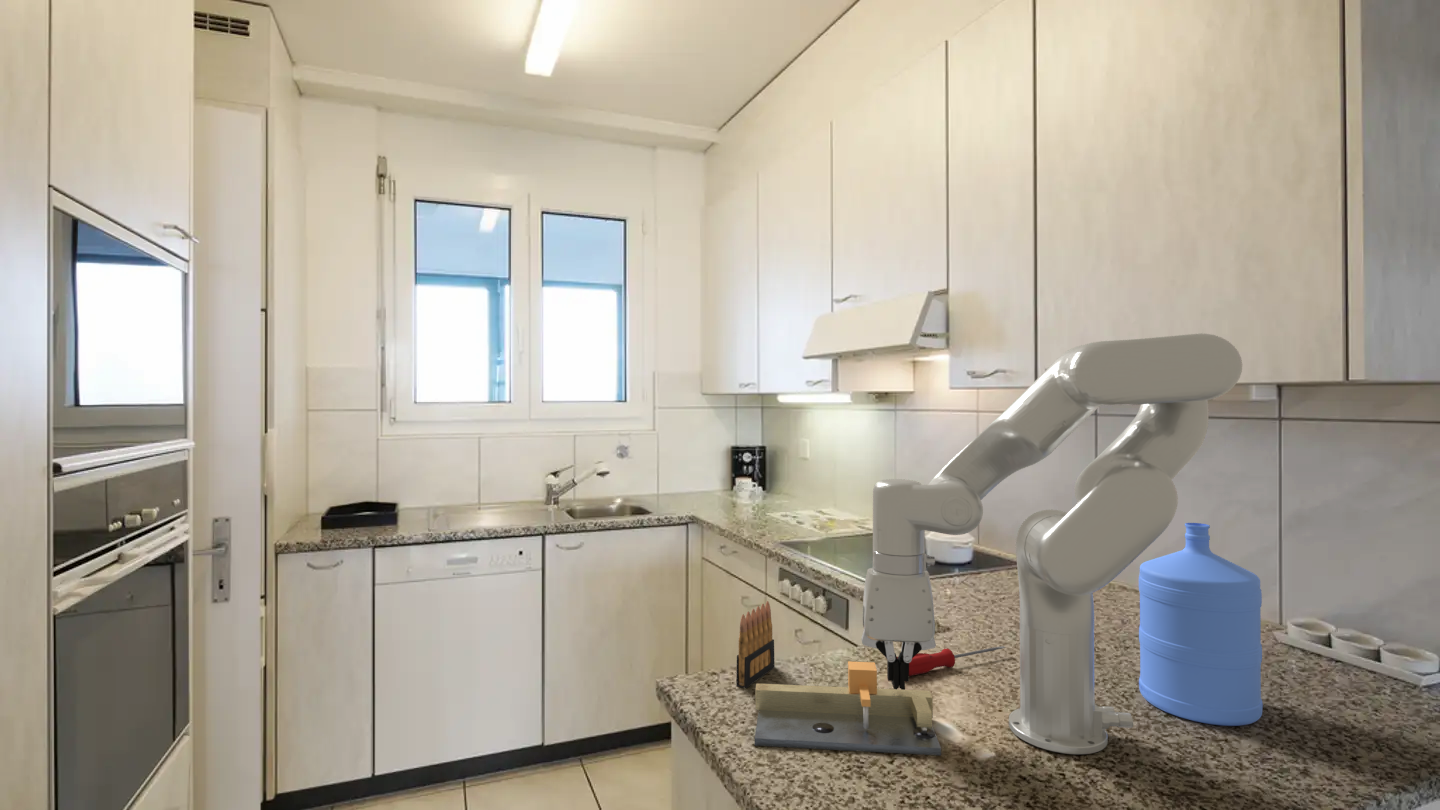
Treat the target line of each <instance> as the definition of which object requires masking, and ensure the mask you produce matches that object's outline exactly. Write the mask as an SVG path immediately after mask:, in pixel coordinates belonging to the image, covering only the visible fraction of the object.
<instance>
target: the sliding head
mask: <svg viewBox="0 0 1440 810" xmlns="http://www.w3.org/2000/svg"><path fill="white" fill-rule="evenodd" d="M847 683H848V684H847V687H849V693H858V694H860V699H861V705H862V706H863V727H864V728H866V729H867V728H869V723H868V707H871V701H870V695H869V694H877V689H878V669H877V666H876V663H875V662H872V661H871V662H870V661H849V660H848V661H847Z"/></svg>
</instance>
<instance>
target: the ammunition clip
mask: <svg viewBox="0 0 1440 810" xmlns="http://www.w3.org/2000/svg"><path fill="white" fill-rule="evenodd" d="M774 668H775V639H773V623H772V610H771V606H770V602H769V601H768V600H767V601H766V603H765V604H764V603H761V606H759V605H758V606H757V607H756V609H755V608H752V610H751V613H750V611H747V613H746V615H745V614H744V613H743V614H741V617H740V623H739V637H738V654H737V655H736V675H735V676H736V680H735V681H736V682H735V683H736V687H738V688H739V687H740V688H743V689H747V688H749V687H750V686H751V685H753V684H754V683H755V682H757V681H759V680H760V679H761V678H762V677H764V676H765V675H766V674H767V673H769V672H771V671H772V670H773V669H774Z"/></svg>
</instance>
